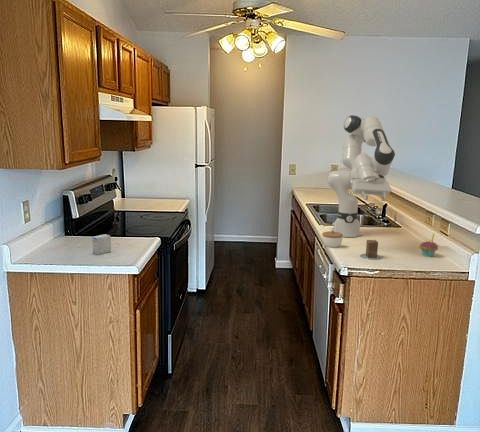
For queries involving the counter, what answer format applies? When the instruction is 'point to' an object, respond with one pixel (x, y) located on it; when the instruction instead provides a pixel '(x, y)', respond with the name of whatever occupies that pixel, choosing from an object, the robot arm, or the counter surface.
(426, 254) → the cupcake
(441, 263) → the counter surface
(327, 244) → the lidded jar
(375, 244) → the brown rectangular block
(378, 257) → the slate saucer
